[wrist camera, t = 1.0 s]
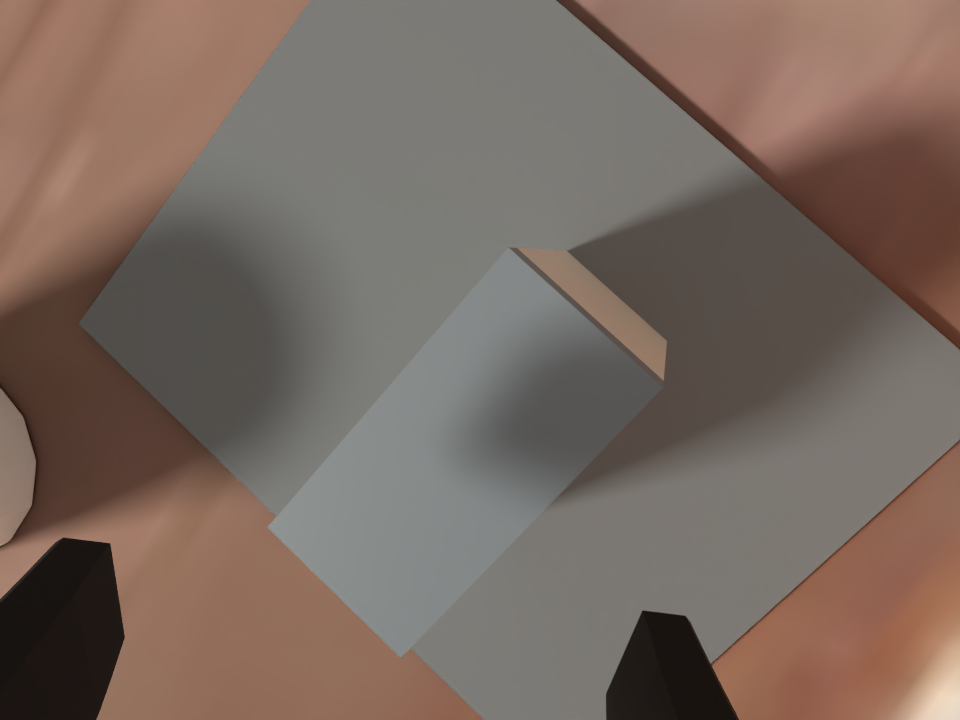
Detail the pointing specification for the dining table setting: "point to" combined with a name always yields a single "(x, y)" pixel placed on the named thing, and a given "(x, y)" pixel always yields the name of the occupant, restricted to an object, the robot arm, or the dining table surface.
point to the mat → (461, 265)
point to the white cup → (14, 469)
